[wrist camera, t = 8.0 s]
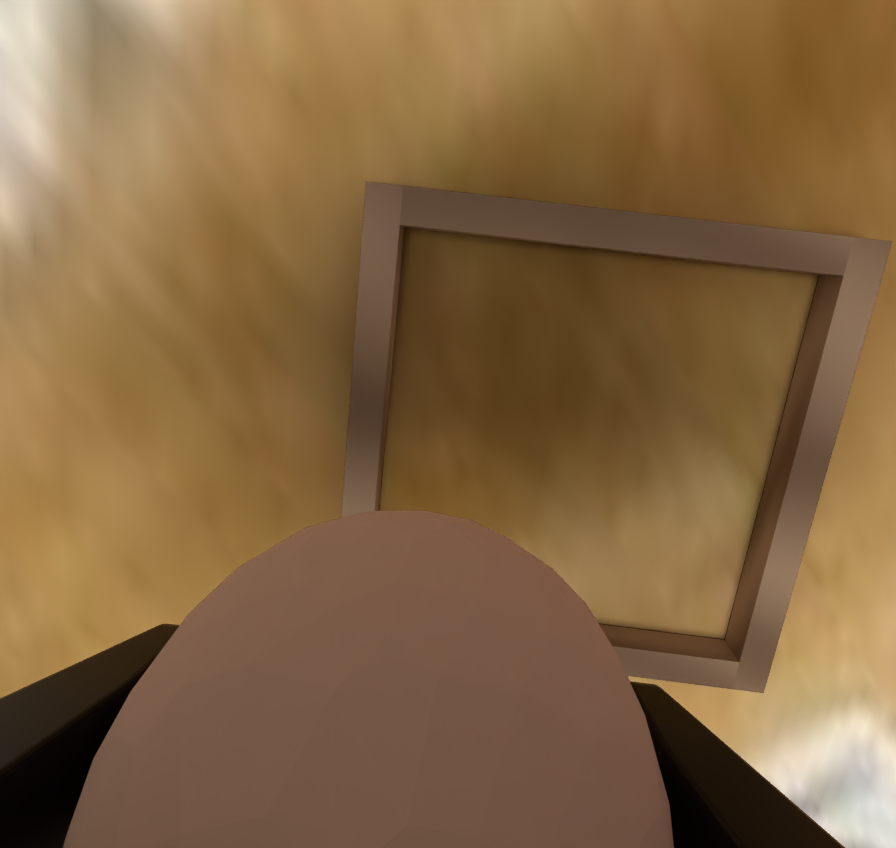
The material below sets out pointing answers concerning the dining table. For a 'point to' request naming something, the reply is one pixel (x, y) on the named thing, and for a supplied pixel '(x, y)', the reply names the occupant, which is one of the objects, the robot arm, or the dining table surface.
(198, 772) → the egg
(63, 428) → the dining table surface
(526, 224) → the walnut frame
